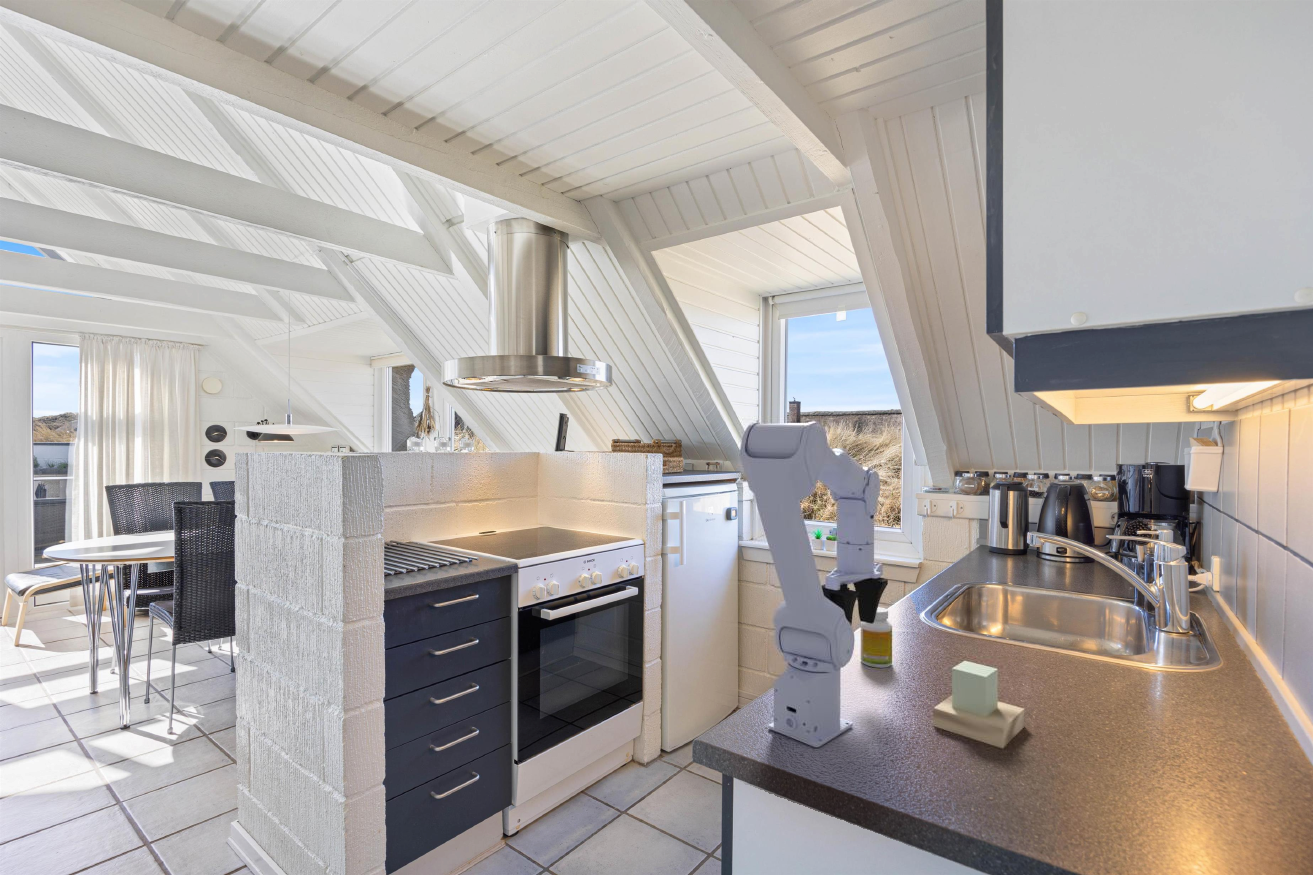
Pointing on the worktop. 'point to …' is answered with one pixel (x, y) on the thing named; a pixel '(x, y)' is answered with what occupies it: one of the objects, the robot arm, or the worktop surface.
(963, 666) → the sage block
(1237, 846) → the worktop surface
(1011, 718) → the oak base
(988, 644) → the worktop surface
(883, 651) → the supplement bottle
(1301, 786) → the worktop surface
